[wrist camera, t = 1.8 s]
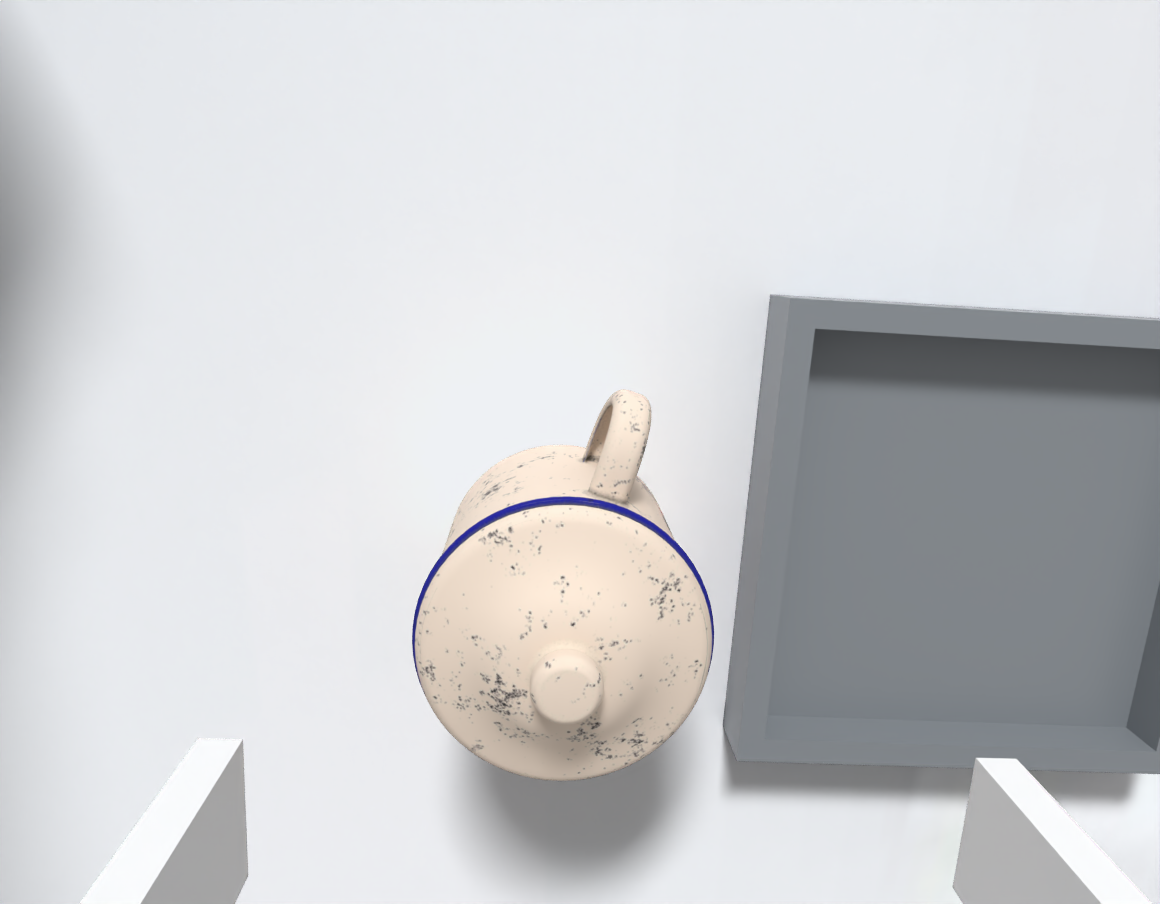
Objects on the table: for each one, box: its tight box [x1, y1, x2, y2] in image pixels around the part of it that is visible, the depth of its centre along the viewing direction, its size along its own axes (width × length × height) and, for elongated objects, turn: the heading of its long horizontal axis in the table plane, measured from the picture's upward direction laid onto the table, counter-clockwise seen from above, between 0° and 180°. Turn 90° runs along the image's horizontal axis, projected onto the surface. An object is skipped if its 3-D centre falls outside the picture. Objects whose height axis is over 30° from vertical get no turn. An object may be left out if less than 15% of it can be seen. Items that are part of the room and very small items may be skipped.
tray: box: [723, 295, 1160, 774], centre depth 33 cm, size 18×18×3 cm
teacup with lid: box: [412, 390, 714, 781], centre depth 28 cm, size 12×9×12 cm
